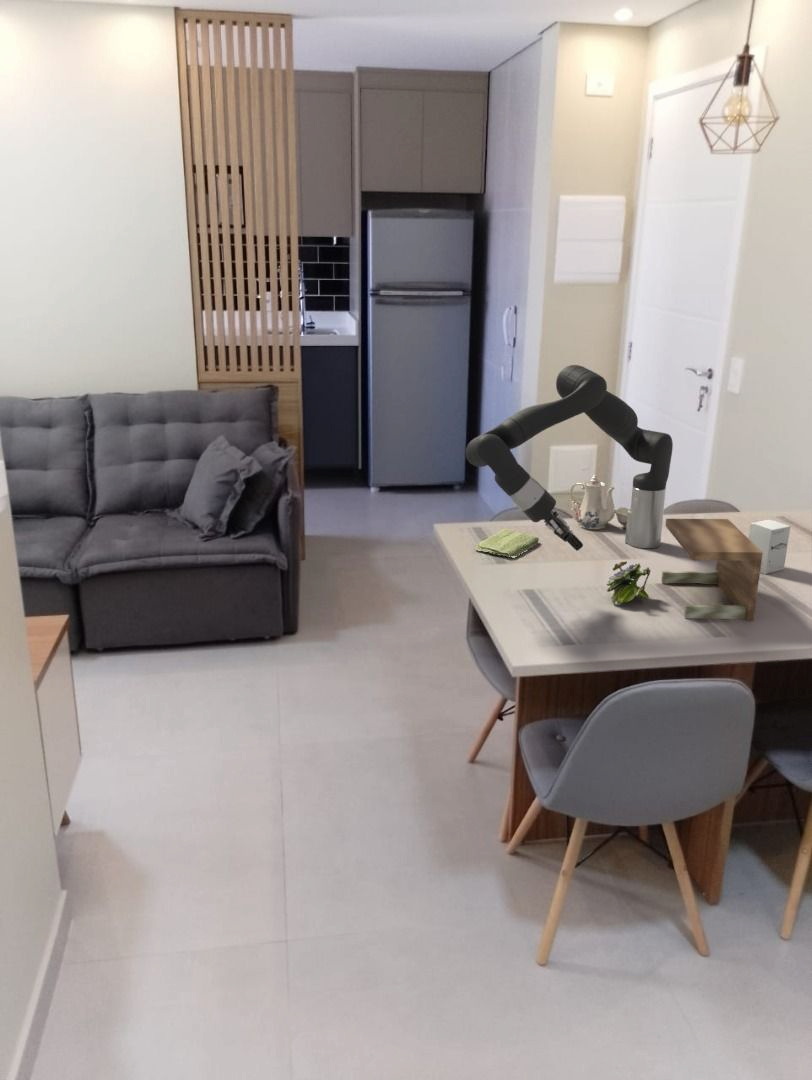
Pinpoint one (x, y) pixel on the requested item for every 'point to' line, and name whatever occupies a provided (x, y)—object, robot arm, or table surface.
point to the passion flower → (627, 583)
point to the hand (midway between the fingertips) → (579, 547)
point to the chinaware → (595, 506)
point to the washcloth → (508, 543)
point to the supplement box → (770, 543)
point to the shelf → (718, 565)
